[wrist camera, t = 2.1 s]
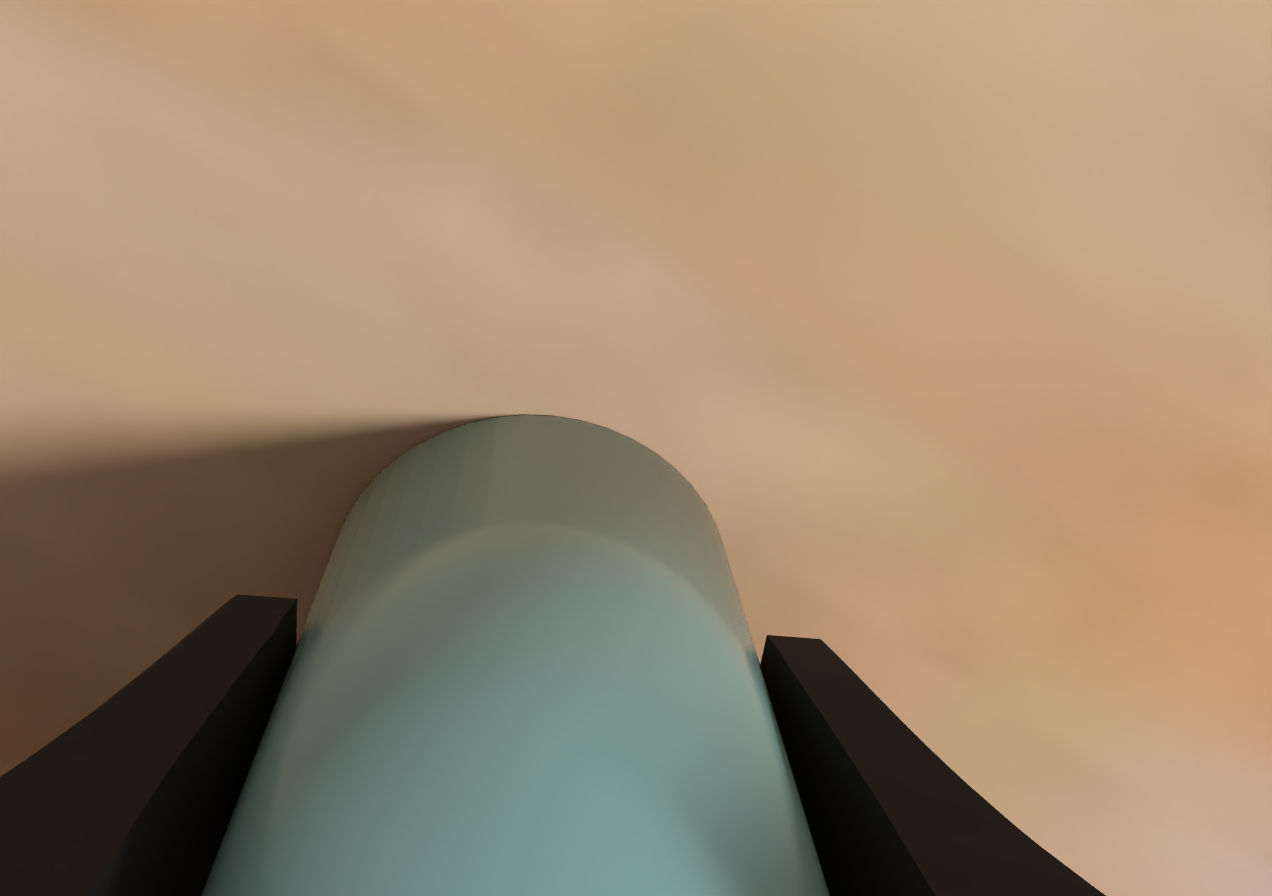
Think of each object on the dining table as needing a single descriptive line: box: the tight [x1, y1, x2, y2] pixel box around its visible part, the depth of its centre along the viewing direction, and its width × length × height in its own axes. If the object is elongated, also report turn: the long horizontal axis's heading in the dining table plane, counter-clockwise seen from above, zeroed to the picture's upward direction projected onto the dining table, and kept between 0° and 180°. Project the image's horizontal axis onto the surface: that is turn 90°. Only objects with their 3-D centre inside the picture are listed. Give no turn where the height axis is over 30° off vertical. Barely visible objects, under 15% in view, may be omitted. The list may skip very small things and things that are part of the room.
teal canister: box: [201, 415, 830, 896], centre depth 10 cm, size 5×5×7 cm
